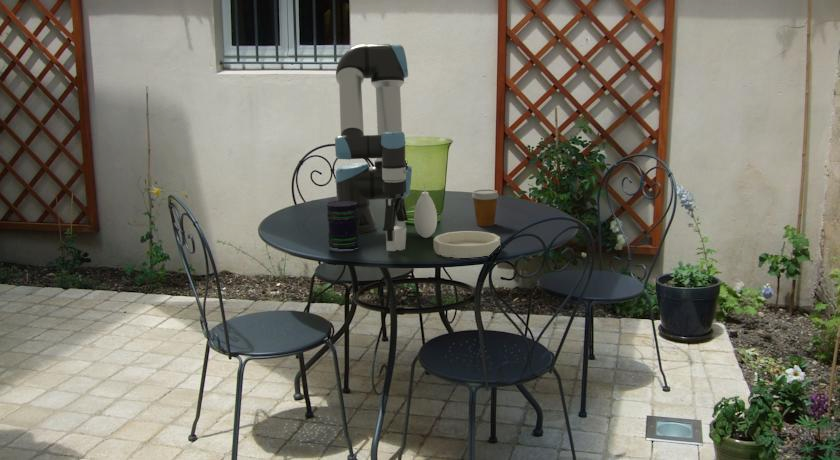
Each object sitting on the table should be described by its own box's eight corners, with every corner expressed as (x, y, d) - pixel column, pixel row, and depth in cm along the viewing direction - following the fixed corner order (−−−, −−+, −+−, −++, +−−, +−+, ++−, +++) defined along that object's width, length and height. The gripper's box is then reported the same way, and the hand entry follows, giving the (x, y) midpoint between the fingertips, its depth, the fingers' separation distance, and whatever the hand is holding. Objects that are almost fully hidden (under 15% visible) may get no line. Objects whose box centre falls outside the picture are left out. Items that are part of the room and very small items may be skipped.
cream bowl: (428, 257, 272) (428, 244, 271) (441, 242, 291) (441, 230, 291) (494, 259, 267) (494, 246, 267) (503, 243, 287) (503, 231, 286)
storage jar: (334, 253, 280) (332, 207, 277) (324, 247, 289) (322, 202, 286) (363, 249, 284) (361, 204, 281) (353, 243, 293) (351, 199, 289)
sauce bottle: (414, 234, 303) (413, 183, 299) (437, 234, 303) (436, 182, 299) (414, 240, 296) (412, 186, 292) (437, 239, 295) (436, 186, 292)
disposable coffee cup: (497, 227, 311) (497, 194, 308) (470, 227, 313) (469, 193, 310) (500, 222, 320) (500, 189, 318) (474, 221, 322) (473, 189, 319)
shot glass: (391, 252, 280) (390, 230, 278) (382, 247, 286) (381, 226, 284) (410, 249, 283) (410, 228, 282) (401, 245, 289) (400, 224, 288)
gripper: (396, 187, 267) (398, 255, 272) (414, 174, 291) (416, 237, 295) (372, 186, 269) (374, 254, 273) (392, 174, 292) (394, 236, 297)
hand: (396, 245), depth 284 cm, fingers open, 13 cm apart
